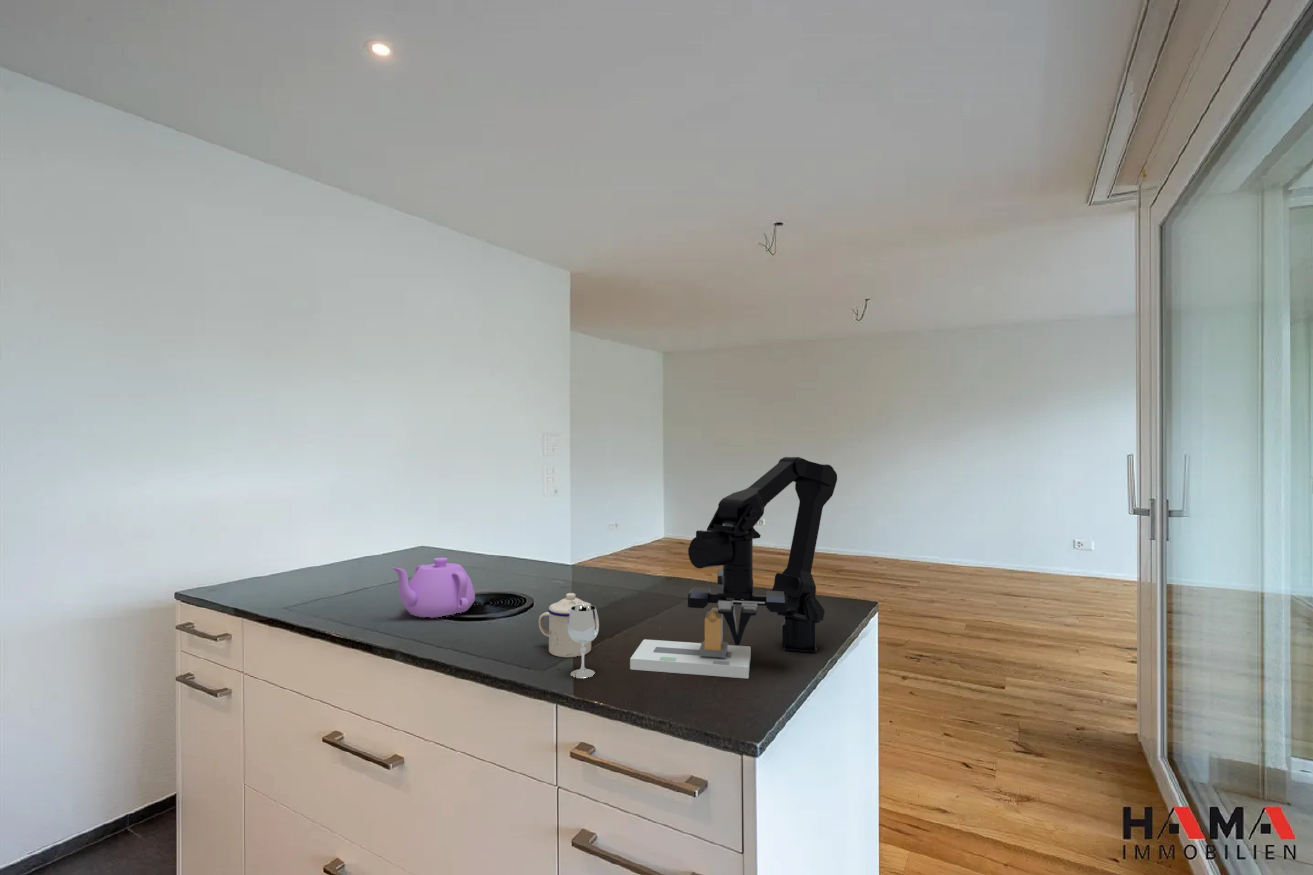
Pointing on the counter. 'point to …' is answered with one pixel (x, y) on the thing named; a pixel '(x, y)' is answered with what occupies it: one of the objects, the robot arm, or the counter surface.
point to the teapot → (436, 589)
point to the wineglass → (583, 632)
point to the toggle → (713, 636)
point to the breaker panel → (690, 659)
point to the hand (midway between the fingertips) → (737, 644)
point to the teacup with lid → (562, 628)
